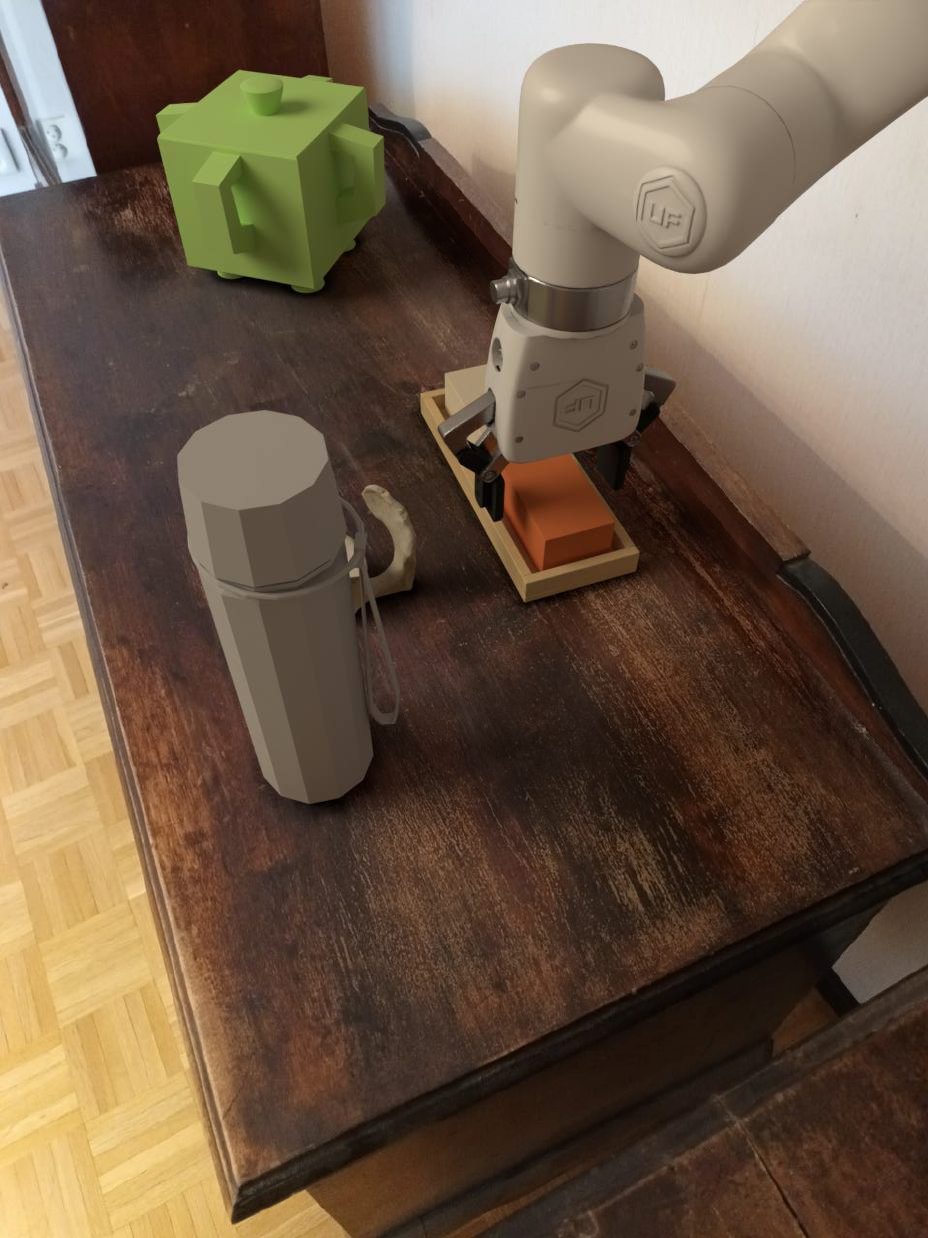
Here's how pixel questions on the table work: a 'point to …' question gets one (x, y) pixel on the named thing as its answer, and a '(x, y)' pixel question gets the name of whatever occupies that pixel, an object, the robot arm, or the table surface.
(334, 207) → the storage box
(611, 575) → the wooden tray
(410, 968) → the table surface
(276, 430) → the water bottle
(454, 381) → the cream rectangular block
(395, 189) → the table surface
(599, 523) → the orange angular block
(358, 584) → the bone
